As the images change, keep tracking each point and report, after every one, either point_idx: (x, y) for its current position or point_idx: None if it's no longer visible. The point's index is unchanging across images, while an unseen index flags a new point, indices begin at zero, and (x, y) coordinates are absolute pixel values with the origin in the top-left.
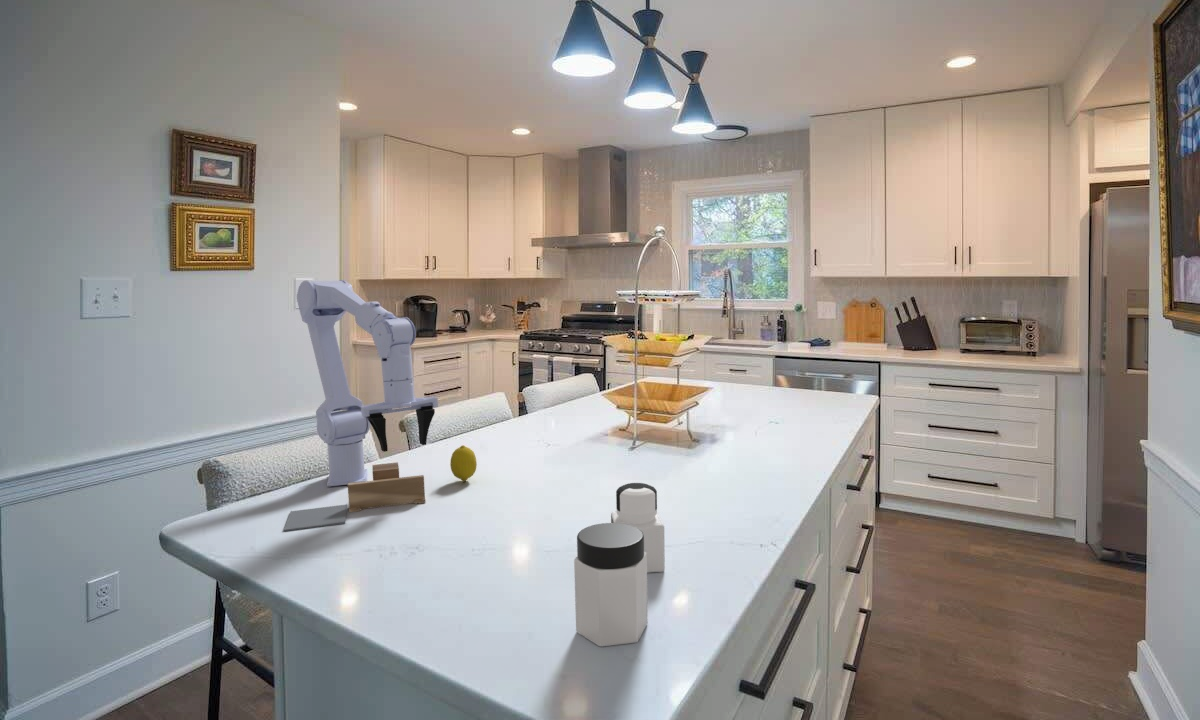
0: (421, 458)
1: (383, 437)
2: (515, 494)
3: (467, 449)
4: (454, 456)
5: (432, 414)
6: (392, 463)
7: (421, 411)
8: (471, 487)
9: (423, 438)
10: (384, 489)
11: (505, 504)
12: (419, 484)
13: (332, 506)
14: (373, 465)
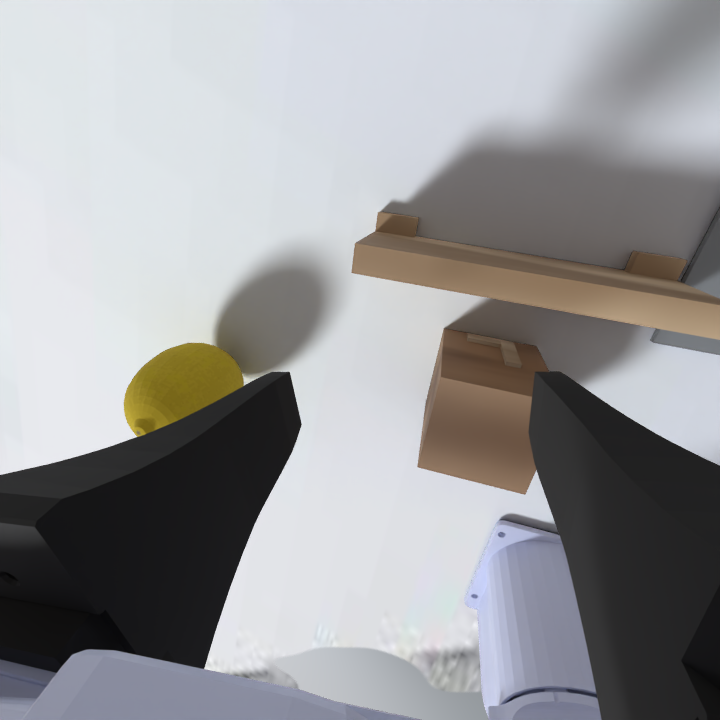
0: (308, 601)
1: (607, 422)
2: (78, 128)
3: (131, 404)
4: (197, 401)
5: (16, 475)
6: (442, 465)
7: (104, 583)
8: (211, 294)
9: (264, 385)
10: (539, 267)
11: (109, 11)
12: (383, 241)
13: (713, 350)
14: (524, 484)
